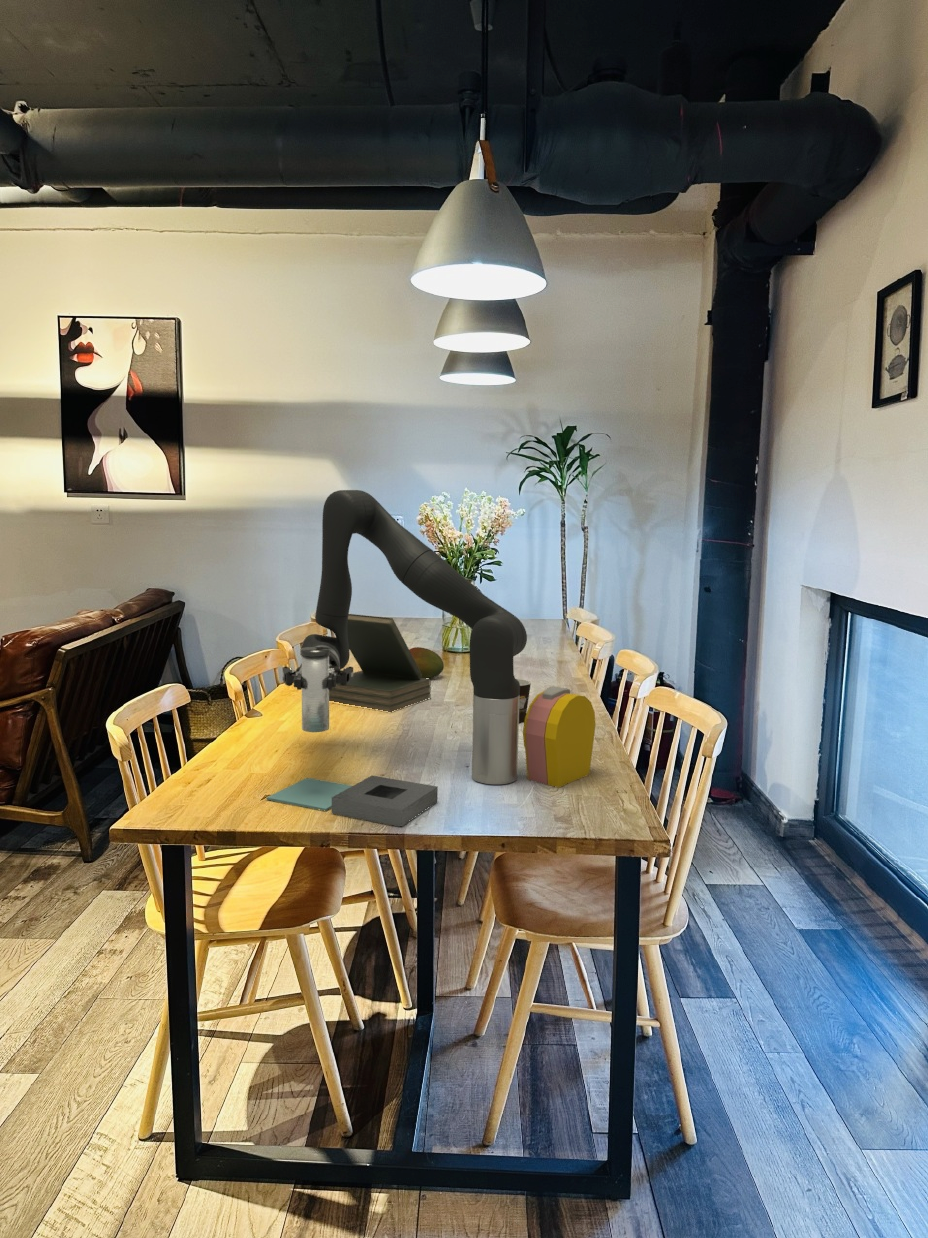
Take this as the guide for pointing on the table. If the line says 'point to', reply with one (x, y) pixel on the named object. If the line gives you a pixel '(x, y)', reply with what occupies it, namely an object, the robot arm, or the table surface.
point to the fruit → (427, 662)
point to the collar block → (384, 800)
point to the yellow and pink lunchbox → (558, 737)
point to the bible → (380, 667)
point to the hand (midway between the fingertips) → (314, 684)
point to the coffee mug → (523, 698)
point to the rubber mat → (310, 793)
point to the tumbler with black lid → (315, 689)
